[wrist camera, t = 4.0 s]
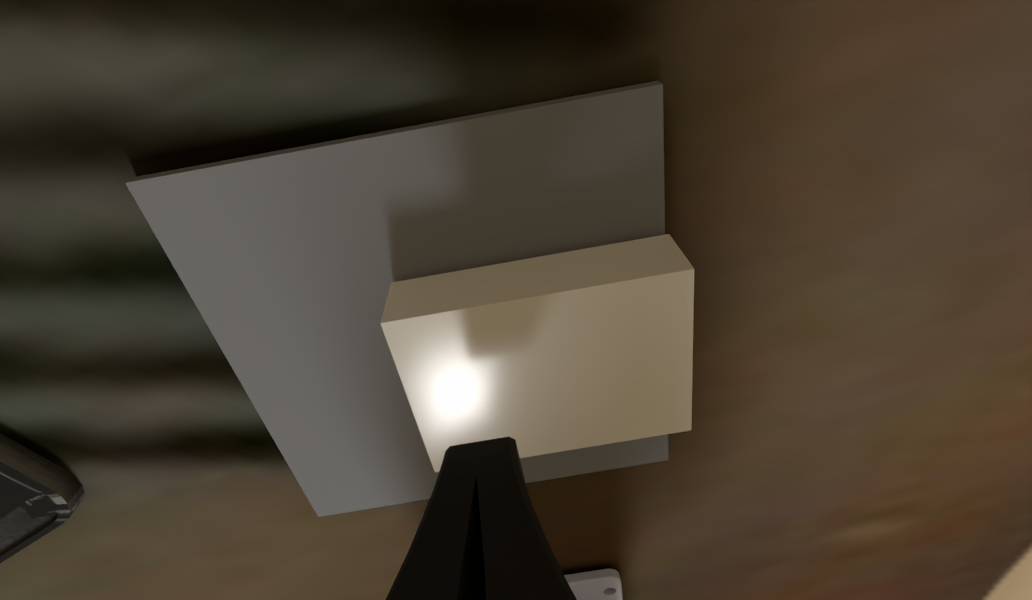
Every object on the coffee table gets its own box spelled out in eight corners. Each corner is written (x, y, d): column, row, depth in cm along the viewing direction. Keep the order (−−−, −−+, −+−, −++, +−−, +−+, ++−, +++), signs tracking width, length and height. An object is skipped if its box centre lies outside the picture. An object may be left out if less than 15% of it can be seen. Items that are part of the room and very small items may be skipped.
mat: (664, 451, 18) (668, 460, 18) (321, 507, 19) (318, 516, 18) (657, 80, 12) (662, 84, 12) (134, 176, 12) (125, 183, 12)
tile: (439, 419, 16) (668, 380, 16) (434, 472, 15) (691, 430, 14) (392, 278, 14) (666, 230, 13) (380, 323, 12) (694, 268, 12)
